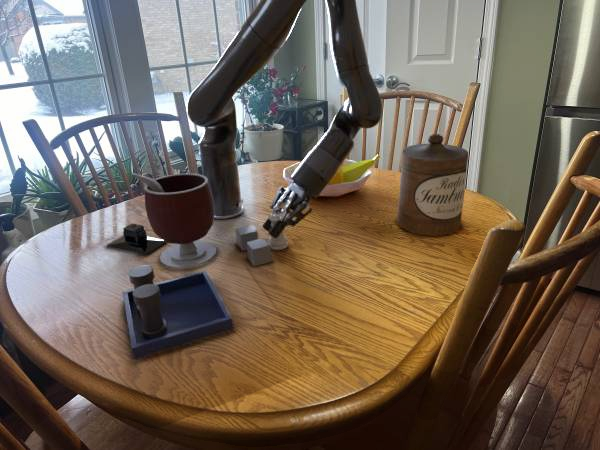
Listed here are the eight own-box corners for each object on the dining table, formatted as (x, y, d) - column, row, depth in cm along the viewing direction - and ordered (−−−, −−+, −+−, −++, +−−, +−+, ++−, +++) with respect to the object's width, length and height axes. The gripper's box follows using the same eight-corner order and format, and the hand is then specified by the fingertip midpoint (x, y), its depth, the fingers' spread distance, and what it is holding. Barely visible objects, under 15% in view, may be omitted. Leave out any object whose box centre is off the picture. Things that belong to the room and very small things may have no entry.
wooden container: (423, 241, 98) (431, 145, 89) (385, 218, 111) (389, 132, 102) (474, 228, 104) (486, 136, 95) (432, 207, 116) (440, 124, 107)
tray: (125, 303, 81) (122, 291, 80) (207, 281, 87) (206, 270, 86) (135, 362, 66) (131, 348, 65) (233, 331, 72) (232, 318, 71)
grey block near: (248, 258, 95) (246, 242, 93) (265, 254, 96) (263, 237, 95) (254, 266, 92) (252, 249, 90) (271, 261, 93) (270, 245, 91)
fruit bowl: (266, 196, 130) (262, 159, 125) (315, 171, 150) (314, 138, 145) (348, 214, 115) (348, 172, 110) (391, 183, 135) (393, 147, 130)
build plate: (167, 242, 104) (164, 224, 102) (146, 256, 98) (142, 237, 96) (128, 234, 109) (124, 217, 107) (105, 247, 103) (101, 229, 101)
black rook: (136, 307, 79) (127, 268, 75) (159, 301, 80) (151, 262, 77) (139, 319, 75) (129, 279, 72) (162, 312, 77) (154, 273, 74)
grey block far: (236, 244, 102) (235, 228, 100) (253, 240, 103) (251, 224, 101) (242, 251, 98) (240, 235, 97) (259, 246, 100) (257, 231, 98)
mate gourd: (220, 238, 104) (209, 157, 96) (220, 267, 92) (208, 176, 84) (153, 246, 102) (136, 163, 94) (144, 276, 90) (124, 184, 82)
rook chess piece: (268, 242, 101) (265, 211, 98) (287, 241, 102) (285, 209, 98) (268, 251, 97) (266, 218, 94) (288, 250, 98) (286, 217, 94)
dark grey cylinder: (141, 328, 73) (131, 287, 70) (165, 321, 74) (157, 281, 71) (144, 342, 70) (133, 300, 66) (169, 334, 71) (160, 293, 68)
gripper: (291, 154, 100) (246, 213, 101) (319, 169, 89) (268, 236, 89) (312, 172, 105) (269, 229, 105) (342, 189, 93) (293, 253, 93)
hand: (269, 232), depth 97 cm, fingers closed on rook chess piece, 3 cm apart
